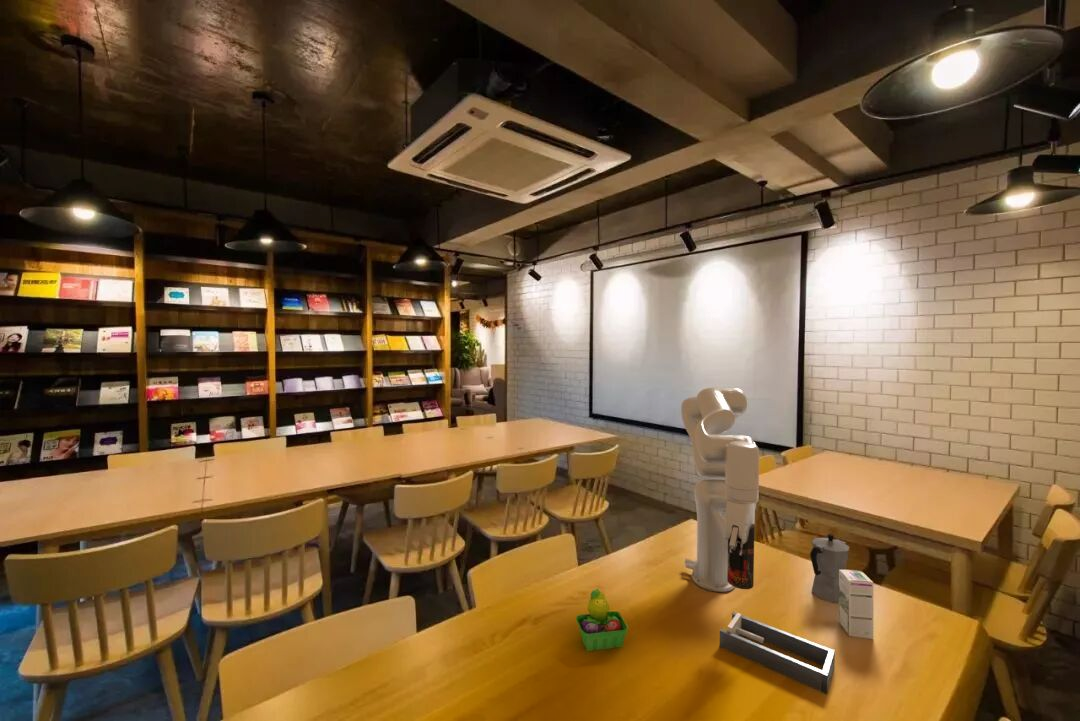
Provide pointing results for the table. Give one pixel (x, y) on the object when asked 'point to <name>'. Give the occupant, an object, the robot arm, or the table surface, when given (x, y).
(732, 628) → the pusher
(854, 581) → the syrup box
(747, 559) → the deodorant
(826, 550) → the coffeepot
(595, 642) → the fruit basket
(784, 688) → the table surface
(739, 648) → the frame
